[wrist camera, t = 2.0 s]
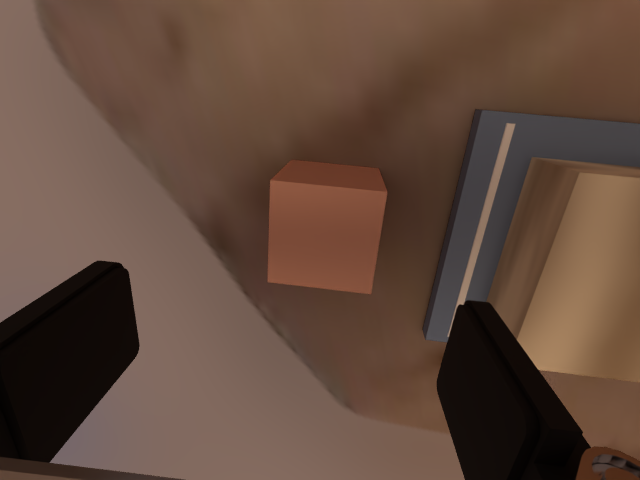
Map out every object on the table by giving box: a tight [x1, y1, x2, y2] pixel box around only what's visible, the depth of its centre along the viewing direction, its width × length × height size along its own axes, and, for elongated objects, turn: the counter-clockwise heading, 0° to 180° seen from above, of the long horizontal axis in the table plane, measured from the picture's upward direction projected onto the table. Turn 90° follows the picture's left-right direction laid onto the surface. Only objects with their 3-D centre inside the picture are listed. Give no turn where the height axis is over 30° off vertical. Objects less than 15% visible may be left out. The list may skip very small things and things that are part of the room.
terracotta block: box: [268, 160, 387, 294], centre depth 18 cm, size 5×5×6 cm
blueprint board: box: [423, 109, 640, 342], centre depth 20 cm, size 16×14×1 cm
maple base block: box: [486, 157, 640, 382], centre depth 17 cm, size 10×10×4 cm
